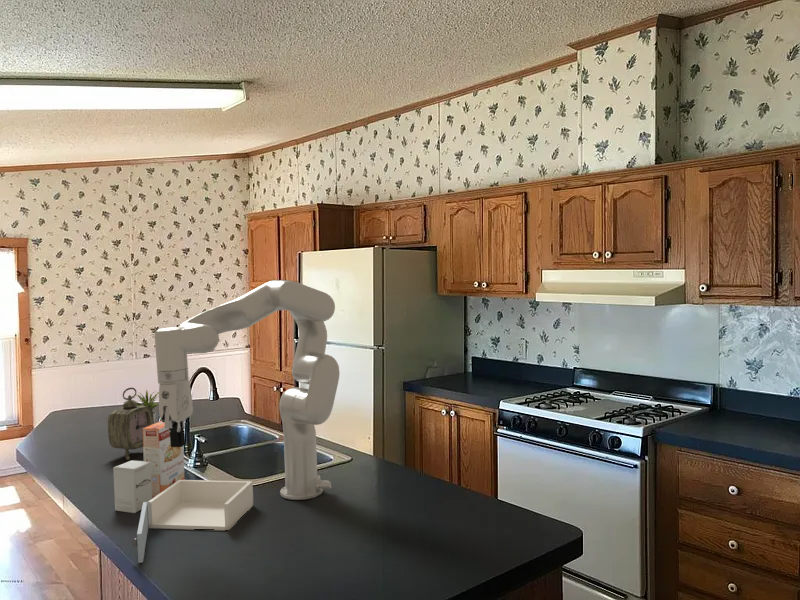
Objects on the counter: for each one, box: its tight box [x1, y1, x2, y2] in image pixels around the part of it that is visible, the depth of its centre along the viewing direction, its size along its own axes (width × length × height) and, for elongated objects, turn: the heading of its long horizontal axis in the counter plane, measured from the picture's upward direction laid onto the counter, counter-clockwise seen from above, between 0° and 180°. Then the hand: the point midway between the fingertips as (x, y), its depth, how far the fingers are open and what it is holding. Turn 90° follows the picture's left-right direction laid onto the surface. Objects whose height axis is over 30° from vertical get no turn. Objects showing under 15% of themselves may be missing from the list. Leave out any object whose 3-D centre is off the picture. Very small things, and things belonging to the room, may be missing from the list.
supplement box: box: [112, 460, 153, 514], centre depth 193 cm, size 7×7×13 cm
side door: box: [132, 502, 149, 564], centre depth 167 cm, size 22×2×7 cm, turn 17°
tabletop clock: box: [107, 387, 154, 461], centre depth 246 cm, size 14×9×25 cm, turn 161°
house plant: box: [134, 389, 159, 424], centre depth 291 cm, size 14×14×16 cm
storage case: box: [147, 479, 254, 531], centre depth 185 cm, size 22×18×7 cm
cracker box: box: [142, 419, 186, 498], centre depth 208 cm, size 14×6×21 cm, turn 168°
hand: (178, 445), depth 175 cm, fingers closed
